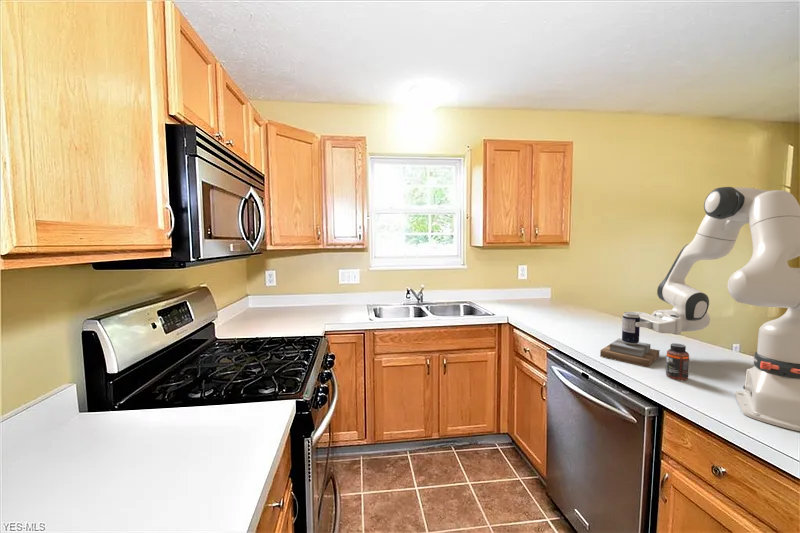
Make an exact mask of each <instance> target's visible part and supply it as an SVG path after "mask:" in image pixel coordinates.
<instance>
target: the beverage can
mask: <svg viewBox="0 0 800 533" xmlns="http://www.w3.org/2000/svg"><path fill="white" fill-rule="evenodd" d="M635 312H636V311H625V312H624V313H623V315H622V317H623V321H622V324H621V325H622V326H621V327H622V329H621V339H622V340H623V341H624V343H626V344H632V345H635V344H637V343H638V342H640V329H641V327H636V326H634V322H637V321H639V322H640V316H639V314H638V313H635Z"/></svg>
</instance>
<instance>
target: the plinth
mask: <svg viewBox="0 0 800 533" xmlns="http://www.w3.org/2000/svg"><path fill="white" fill-rule="evenodd" d="M601 356H603V357H602V358H605V357H607V358H606V359H610V358H612V359H611V360H614V359H616V360H615V361H619V360H620V361H619V362H623V363H627V364H633V365H637V366H641V367H646V368H649V367H650V366H651V365H653V363H654V362H655V361H656V360H658V359H659V358H660V349H654V348H651V343H646V342H641V341H639V342H638V343H637V344H635V345H632V344H626V343H624V341H623V340H622V338H620V337H619V338H617V339H616V340H614V341H613V342H611V343H609V344H608V345H607V346H605V347H604V348H602V349H600V356H599V357H601Z"/></svg>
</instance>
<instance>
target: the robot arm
mask: <svg viewBox="0 0 800 533" xmlns="http://www.w3.org/2000/svg"><path fill="white" fill-rule="evenodd" d="M703 211H704V212H705V216H704V217H703V219H702V220H701V223H700V225H699V226H698V228H697V231H696V234H695V236H694V237H693V239H692V240H691V241H690V242H689V243H687V244H686V245H684V246H683V247H682V249H681V250H680V252H679V253H678V254H677V256H676V258H675V259H674V261H673V263H672V265H671V267H670V269H669V270H668V272H667V274H666V276H665V277H664V278H663V279H662V281H661V282H660V283H659V284H658V287H657V291H656V294H657V295H656V296H657V297H658V298H659V300H661V301H663V302H665V303H667V304H669V305H671V306H672V309H656V310H654V311H653V312H652V313H651V314H650V313H647V312H645V311H644V312H643V311H634V312H635V313H638V314H639V316H640V322H639V321H637V322H634V326H636V327H640V328H645V329H649V330H652V331H654V332H657V333H660V334H668V335H669V334H671V335H677V336H678V335H681V334H682V332H696V331H701V330H703V329H705V328H707V327H708V326H709V325H710V322H711V317H710V314H709V313H708V311H709V310H708V309H709V306H710V299H709V296H708V295H707V294H706V293H704V292H702V291H701V290H699V289H697V288H694V287H692V286H690V285H688V284H686V281H685V280H686V277H687V276H688V274H689V272H690V271H691V269H692V268H693V266H694V264H695V263H697V262H699V261H703V260H704V261H708V260H709V261H710V260H711V261H712V260H718V259H722V258H724V257H726V256H728V255H729V253H730V252H731V251H732V249H733V248H734V247H735V246H734V245H735V244H736V241H737V240H738V236H739V234H740V231H741V229H742V227H744V226H745V225H746V224H749V225H748V226H749V229H750V230H749V231H750V234H751V241H752V255H751V257H750V259H749V261H748V262H747V263H746V264H745V265H744V266H743V267H741V268H739V269H737V270H736V271H734V272H733V273H732V274H731V275H730V276H729V278H728V281H727V291H728V293H729V295H730V296H731V298H732V299H733V300H734V301H735V302H737V303H741V304H744V305H749V306H750V305H751V306H755V307H761V308H762V307H764V308H783V309H785V308H786V309H787V310H786V311H785V312H784V314H782V315H781V316H779V317H778V318H774V319H772V320H768V321H766V322H764V323H763V324H762V325H761V326H760V327H759V328H758V334H757V348H756V351H755V352H754V355H753V366H752V367H750V368H748V369H747V368H746V376H745V384H744V385H743V387H742V388H743V390H744V391H738V390H737V391H735V392H734V397H735V399H736V401H737V403H738V406H739V408H740V411H741V413H742V415H744V416H747V417H749V418H752V419H754V420H758V421H760V422H764V423H766V424H769V425H774V426H777V427H780V428H785V429H787V430H791V431H796V432H800V267H792V266H791V267H790V266H789V264H788V263H789V262H788V261H790V260H794V259H796V258H798V257H800V204H799V202H798V200H797V199H796V197H795V196H794V195H793V193H790V192H789V191H786V190H782V189H781V190H780V189H777V190H776V189H774V190H767V189H762V188H755V187H733V186H721V187H717V188H713V190H711V192H709V193H708V195H707V196H706V197H705V200H704V203H703ZM621 322H623V316H622V317H621Z"/></svg>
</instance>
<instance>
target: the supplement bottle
mask: <svg viewBox="0 0 800 533" xmlns="http://www.w3.org/2000/svg"><path fill="white" fill-rule="evenodd" d="M686 346H687V345H685V344H681V343H673V342H672V343H670V348H669V349H668V350H667V351H666V363H665V364H666V365H665V375H666V377H667V378H670V379H672V380H675V381H687V380H688V379H689V374H690V373H689V372H690V371H689V366H690V354H689V352H688V351H686V348H687V347H686Z"/></svg>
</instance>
